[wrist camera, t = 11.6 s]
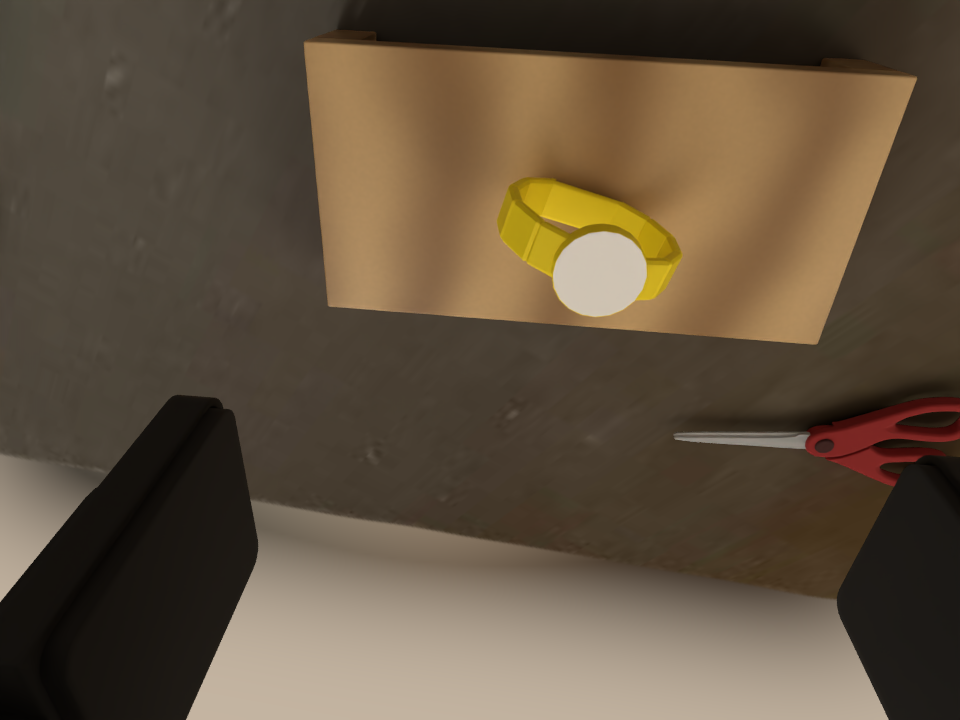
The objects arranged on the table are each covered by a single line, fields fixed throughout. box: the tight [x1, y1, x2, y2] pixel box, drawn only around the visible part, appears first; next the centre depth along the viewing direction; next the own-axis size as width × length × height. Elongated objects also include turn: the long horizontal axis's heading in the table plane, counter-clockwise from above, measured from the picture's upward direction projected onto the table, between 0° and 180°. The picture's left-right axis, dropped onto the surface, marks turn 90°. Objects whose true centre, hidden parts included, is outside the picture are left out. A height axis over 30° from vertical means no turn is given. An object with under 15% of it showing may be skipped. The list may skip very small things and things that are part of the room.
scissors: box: [673, 397, 960, 486], centre depth 32 cm, size 5×14×1 cm, turn 92°
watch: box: [497, 177, 683, 317], centre depth 21 cm, size 6×3×6 cm, turn 72°
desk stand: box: [304, 30, 917, 344], centre depth 25 cm, size 20×10×4 cm, turn 88°
